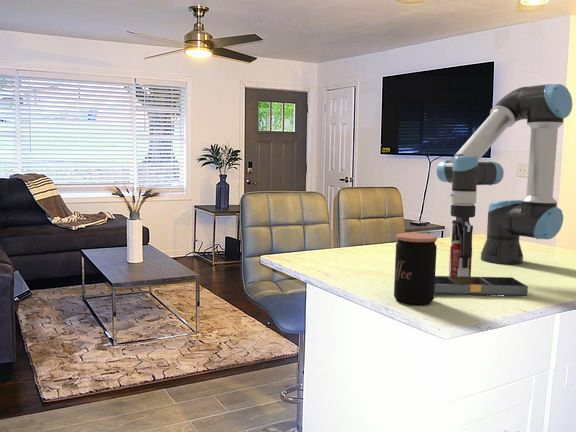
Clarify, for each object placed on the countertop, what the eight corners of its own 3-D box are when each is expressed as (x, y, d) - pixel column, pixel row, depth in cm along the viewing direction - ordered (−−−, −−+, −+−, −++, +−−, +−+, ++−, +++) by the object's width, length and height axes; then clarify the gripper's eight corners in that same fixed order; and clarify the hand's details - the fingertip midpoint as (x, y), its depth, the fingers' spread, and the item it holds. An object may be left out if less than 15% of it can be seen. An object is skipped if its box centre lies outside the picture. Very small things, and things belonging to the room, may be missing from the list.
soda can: (471, 281, 176) (473, 243, 174) (449, 279, 177) (451, 242, 176) (469, 276, 182) (471, 240, 181) (448, 275, 184) (449, 239, 182)
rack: (511, 287, 169) (512, 276, 169) (527, 297, 158) (528, 286, 157) (413, 285, 170) (414, 274, 169) (422, 294, 158) (423, 283, 157)
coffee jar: (389, 296, 156) (391, 232, 154) (426, 296, 157) (429, 232, 155) (400, 306, 145) (402, 238, 143) (439, 306, 146) (443, 238, 144)
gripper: (443, 201, 187) (440, 268, 189) (460, 207, 167) (457, 282, 170) (465, 201, 187) (462, 268, 189) (485, 207, 167) (481, 282, 170)
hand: (459, 274), depth 180 cm, fingers closed on soda can, 7 cm apart
